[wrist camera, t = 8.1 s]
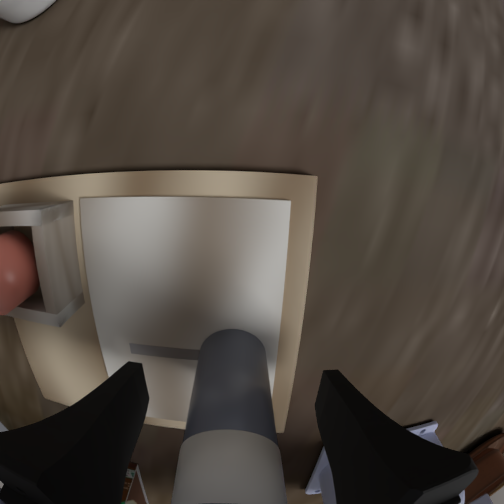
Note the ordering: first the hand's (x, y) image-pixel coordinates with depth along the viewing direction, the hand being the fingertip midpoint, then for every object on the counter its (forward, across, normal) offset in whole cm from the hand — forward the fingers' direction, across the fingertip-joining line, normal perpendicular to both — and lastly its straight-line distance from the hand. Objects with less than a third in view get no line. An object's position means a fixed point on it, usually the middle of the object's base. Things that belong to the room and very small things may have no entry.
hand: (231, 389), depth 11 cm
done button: (+1, +9, -4) cm, 11 cm away
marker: (+2, 0, 0) cm, 2 cm away
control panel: (+3, +5, -1) cm, 6 cm away
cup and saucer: (+3, -29, +21) cm, 36 cm away
